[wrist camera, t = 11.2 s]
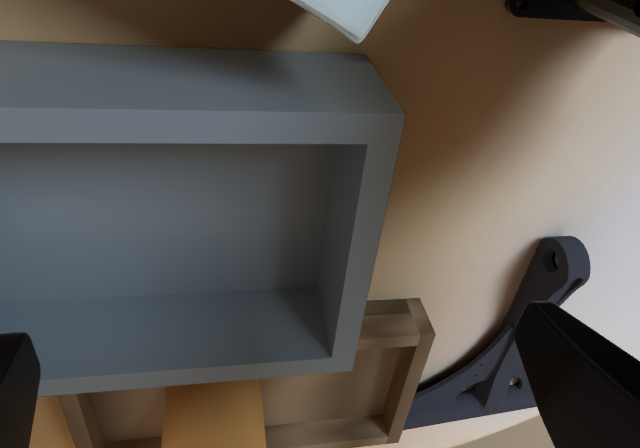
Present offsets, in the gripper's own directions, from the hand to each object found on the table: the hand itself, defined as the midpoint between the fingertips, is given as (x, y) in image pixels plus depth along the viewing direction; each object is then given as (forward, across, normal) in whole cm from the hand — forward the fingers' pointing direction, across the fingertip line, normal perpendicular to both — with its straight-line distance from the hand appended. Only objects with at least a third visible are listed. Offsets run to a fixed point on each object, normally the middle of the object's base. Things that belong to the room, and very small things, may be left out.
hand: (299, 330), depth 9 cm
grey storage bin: (+12, +4, +5) cm, 14 cm away
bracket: (+12, -16, +15) cm, 25 cm away
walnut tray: (+12, 0, +17) cm, 21 cm away
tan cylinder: (+11, +2, +17) cm, 20 cm away
